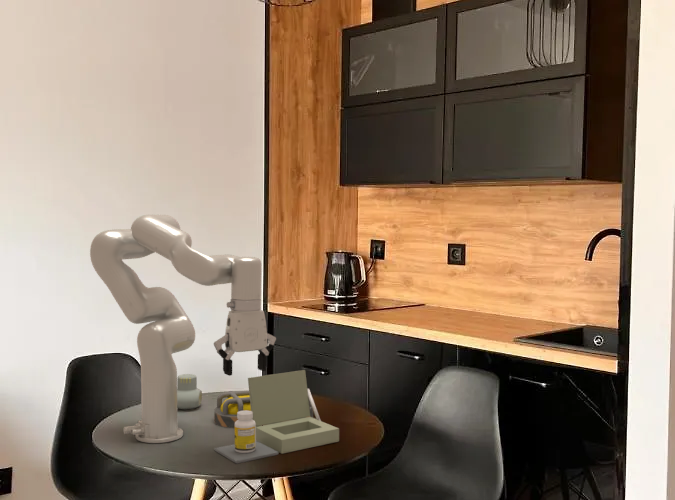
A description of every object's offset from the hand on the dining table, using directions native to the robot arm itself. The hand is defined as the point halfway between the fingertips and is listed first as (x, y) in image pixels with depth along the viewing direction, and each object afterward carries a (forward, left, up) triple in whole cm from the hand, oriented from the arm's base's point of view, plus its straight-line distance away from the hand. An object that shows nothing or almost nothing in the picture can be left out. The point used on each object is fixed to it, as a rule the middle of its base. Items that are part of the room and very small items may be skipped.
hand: (245, 372), depth 188 cm
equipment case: (+17, +2, -21) cm, 26 cm away
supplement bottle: (0, -1, -20) cm, 20 cm away
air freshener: (+6, +48, -21) cm, 53 cm away
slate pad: (0, -1, -21) cm, 21 cm away
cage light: (+20, +24, -21) cm, 38 cm away
